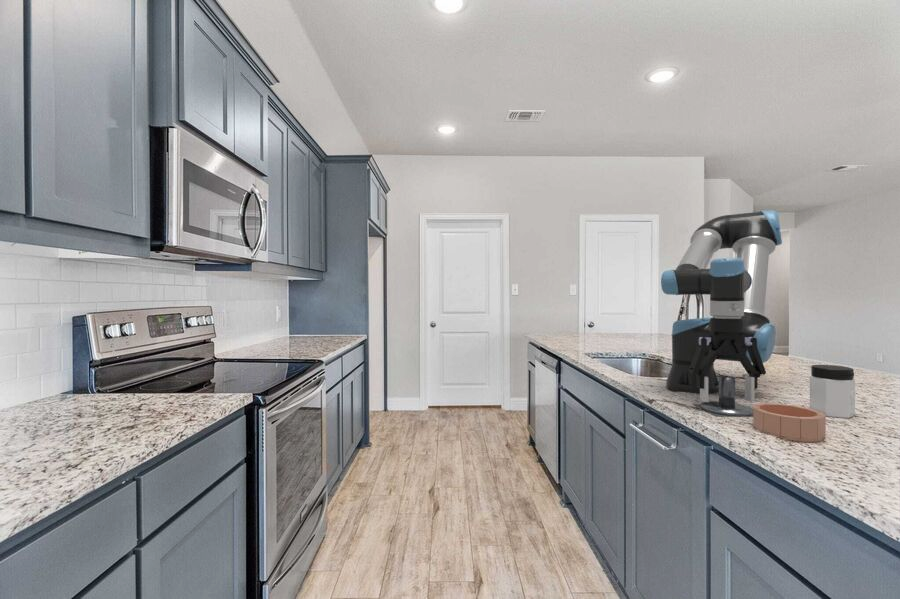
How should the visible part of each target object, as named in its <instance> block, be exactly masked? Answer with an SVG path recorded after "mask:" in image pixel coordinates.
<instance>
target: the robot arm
mask: <svg viewBox="0 0 900 599" xmlns="http://www.w3.org/2000/svg"><path fill="white" fill-rule="evenodd" d="M782 239H783V238H782V233H781V225H780V219H779V214H778V212H777V211H775V210H760V211H754V212H744V213H743V212H742V213H733V214H724V215H719V216H717V217H714V218H712V219H710V220H708V221H706V222H705V223H704V224H702V225H700V226H699V227H698V228H697V229H696V230H694V232H693V234H692V235H691V237H690V243H689V244H690V245H689V247H688V248H687V250H686V252H685V253H684V254H683V256H682V259H681V260H680V261H679V263H678V265H677V267H676V268H675V269H669V270H665V271H663V272H662V274H661V277H660V278H661V279H660V285H661V290H662V292H663V293H664V294H666V295H669V296H671V295H672V296H673V295H674V296H675V295H676V296H678V295H679V296H681V295H682V296H690V295H692V296H694V295H697V296H698V295H703V296H704V295H709V315H710V317H700V318H687V319H680V320H676V321H674V322H673V324H672V331H671V348H672V349H671V357H672V358H671V360H672V362H671V367H670V370H669V372H668V376H667V378H666V384H665V386H666V389H667V390H670V391H673V392H677V393H681V392H682V393H688V394H689V393H690V394H699V400H700V401H702V402H709V394H710V395H711V394H717V393H718V394H719V377H718V376H717V373H716V370H715V365H714V363H715V361H716V360H718V361H719V360H721V361H731V362H740V364H741V366H742V367H743V368H744V370H745V371H746V374H747V375H744V400H745V402H746V401H747V402H749V403H755V402H756V401H755V398H756V397H755V395H756V394H755V390H757V389H758V379H759V378H761V375H762V376H763V375H766V374H767V371H766V367H765V366H764V363H766V362H768V361H769V360H770V359H771V357H772V355H773V351H774V347H775V340H776V326H775V325H774V324H773V323H771V321H770V318H768V316H766V315H765V310H766V309H765V308H766V307H765V306H766V295H767V294H766V293H767V283H768V282H767V281H768V271H769V270H768V269H769V260H770V259H769V257H770V255H771V254H773V253H774V252H775V250H776V247H777V246H780V245H782V243H783V241H782ZM723 249H732V251H733V252H734V253H735V255H736V257H725V258H714V259H712V258H713V256H714V254H715V253H717V252H718V251H719V250H723ZM711 259H712V260H711ZM708 265H709V268H707V267H708Z"/></svg>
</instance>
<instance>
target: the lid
mask: <svg viewBox="0 0 900 599" xmlns="http://www.w3.org/2000/svg"><path fill="white" fill-rule="evenodd" d="M718 381H719V392H718V401H714V400H711V401H708V402H704V401H702V402H701V403H700V404H701V408H702V409H703V410H702V409H701V410H702V411H704V410H705V411H704V412H706V411H708V412H711V413H715V414H720V415H727V416H740V417H739V418H742V417H741V416H751V415H753V407H750V406H747V405H744V404H740V403H736V377H735V376H733V375H725V374H724V375H723V374H722V375H718ZM708 412H707V413H708Z"/></svg>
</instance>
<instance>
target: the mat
mask: <svg viewBox="0 0 900 599" xmlns="http://www.w3.org/2000/svg"><path fill="white" fill-rule="evenodd" d="M691 405H693V406H694V407H696V408H698V409H700V410H702V411H704V412H707V413H708V414H710V415H712V416H713V417H716V418H718V417H719V418H720V417H722V418H725V417H726V418H753V415H751V416H741V417H740V416H727V415H720V414H715V413H711V412H708V411H705V410H703V409H702V408H701V403H692V404H691Z"/></svg>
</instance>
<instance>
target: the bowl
mask: <svg viewBox="0 0 900 599" xmlns="http://www.w3.org/2000/svg"><path fill="white" fill-rule="evenodd" d="M752 409H753V417H752V425H753V428H754V429H756V430H757V431H760V432H763V433H766V434H768V435H772V436H775V437H776V438H775V439H778V438H780V439H779V440H783V439H786V440H785V441H788V440H791V441H790V442H796V441H799V442H798V443H819V442H820V441H821V442H823V441H824V440H825V437H826V421H827V420H826V417H827V416H825V415H824V414H823V413H822V412H819V411H816V410H813V409H810V407H805V406H800V405H795V404H794V405H793V404H785V403H777V402H773V403H765V402H761V403H756V404H752ZM792 440H793V441H792Z"/></svg>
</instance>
